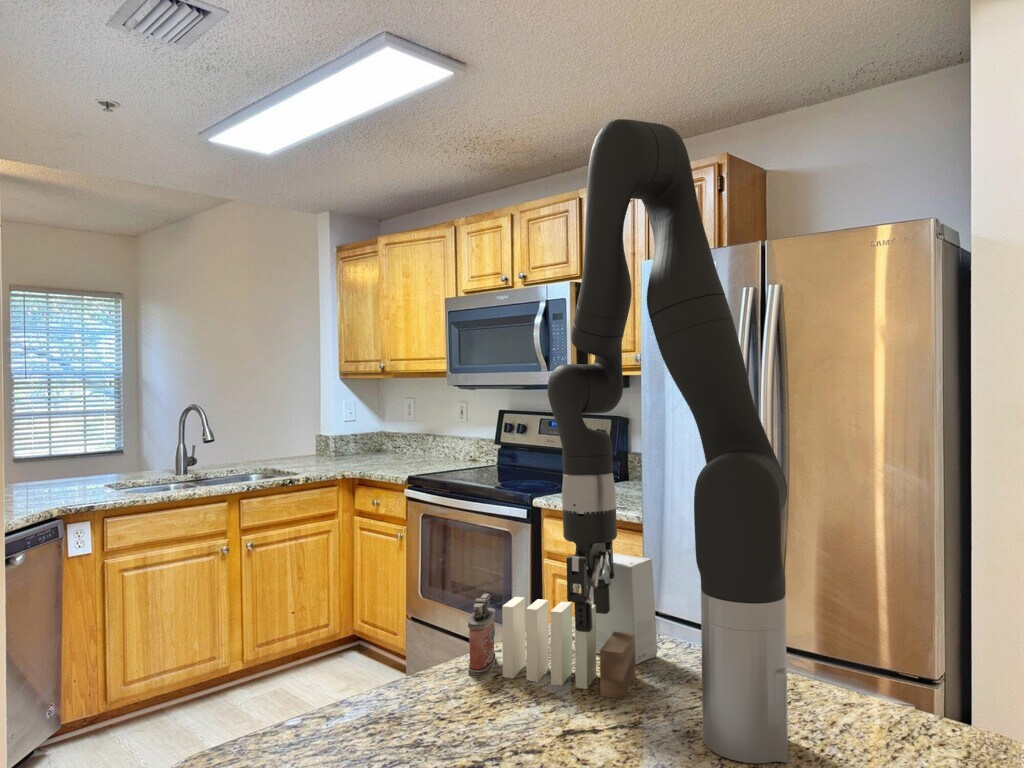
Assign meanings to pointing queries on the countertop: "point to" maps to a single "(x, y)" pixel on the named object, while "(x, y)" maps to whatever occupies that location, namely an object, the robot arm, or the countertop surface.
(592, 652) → the domino
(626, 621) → the skincare box
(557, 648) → the domino
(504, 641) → the domino
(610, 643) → the block
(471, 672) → the lighter
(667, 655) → the countertop surface
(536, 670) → the domino
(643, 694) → the countertop surface
